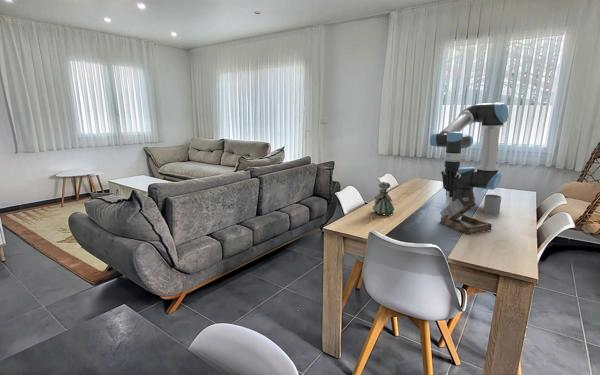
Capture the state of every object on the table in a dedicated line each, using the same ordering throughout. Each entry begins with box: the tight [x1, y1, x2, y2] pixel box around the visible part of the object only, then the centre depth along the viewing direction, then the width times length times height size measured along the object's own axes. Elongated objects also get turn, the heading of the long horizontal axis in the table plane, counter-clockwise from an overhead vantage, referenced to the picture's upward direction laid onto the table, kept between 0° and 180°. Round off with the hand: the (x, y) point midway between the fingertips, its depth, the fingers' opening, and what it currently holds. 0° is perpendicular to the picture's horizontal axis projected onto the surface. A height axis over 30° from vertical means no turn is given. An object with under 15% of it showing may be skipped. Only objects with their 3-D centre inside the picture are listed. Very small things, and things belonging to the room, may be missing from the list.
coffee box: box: [439, 195, 477, 220], centre depth 174 cm, size 9×6×16 cm
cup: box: [483, 194, 502, 215], centre depth 192 cm, size 8×8×10 cm
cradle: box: [439, 213, 492, 235], centre depth 169 cm, size 18×16×4 cm
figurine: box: [372, 181, 395, 215], centre depth 193 cm, size 14×14×20 cm
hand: (448, 202), depth 178 cm, fingers closed
